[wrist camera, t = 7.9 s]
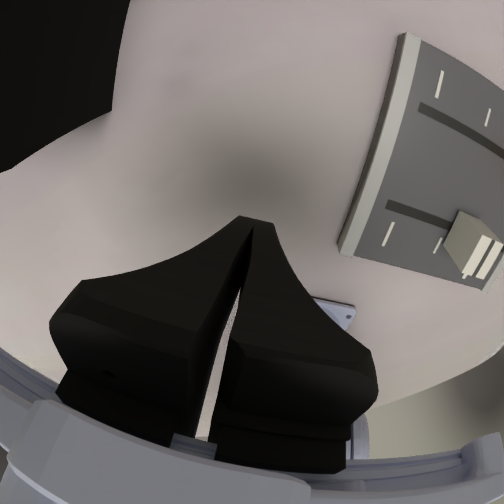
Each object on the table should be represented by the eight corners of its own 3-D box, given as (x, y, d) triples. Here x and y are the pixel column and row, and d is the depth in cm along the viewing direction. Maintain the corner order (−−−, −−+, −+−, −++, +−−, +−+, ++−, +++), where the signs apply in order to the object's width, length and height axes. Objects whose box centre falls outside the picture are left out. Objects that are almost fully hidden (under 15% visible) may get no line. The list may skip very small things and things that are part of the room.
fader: (464, 252, 18) (484, 280, 15) (442, 245, 18) (462, 273, 15) (481, 220, 16) (504, 245, 13) (459, 210, 16) (482, 235, 14)
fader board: (481, 283, 21) (487, 292, 20) (337, 243, 21) (339, 254, 20) (546, 133, 12) (556, 137, 11) (398, 35, 12) (406, 31, 11)
